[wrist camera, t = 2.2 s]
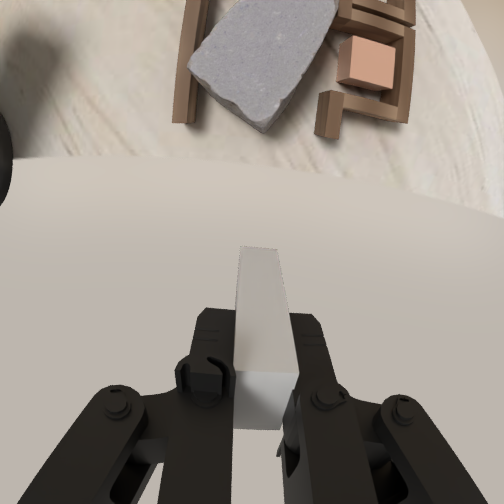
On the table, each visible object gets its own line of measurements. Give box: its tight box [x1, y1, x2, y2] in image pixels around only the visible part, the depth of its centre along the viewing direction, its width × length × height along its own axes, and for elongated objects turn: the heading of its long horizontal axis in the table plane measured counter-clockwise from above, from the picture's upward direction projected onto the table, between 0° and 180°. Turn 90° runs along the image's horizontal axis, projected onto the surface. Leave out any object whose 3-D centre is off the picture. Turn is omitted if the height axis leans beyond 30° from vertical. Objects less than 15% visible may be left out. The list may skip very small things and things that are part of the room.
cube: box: [336, 35, 395, 91], centre depth 21 cm, size 4×4×4 cm
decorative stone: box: [187, 0, 339, 133], centre depth 19 cm, size 15×7×10 cm
